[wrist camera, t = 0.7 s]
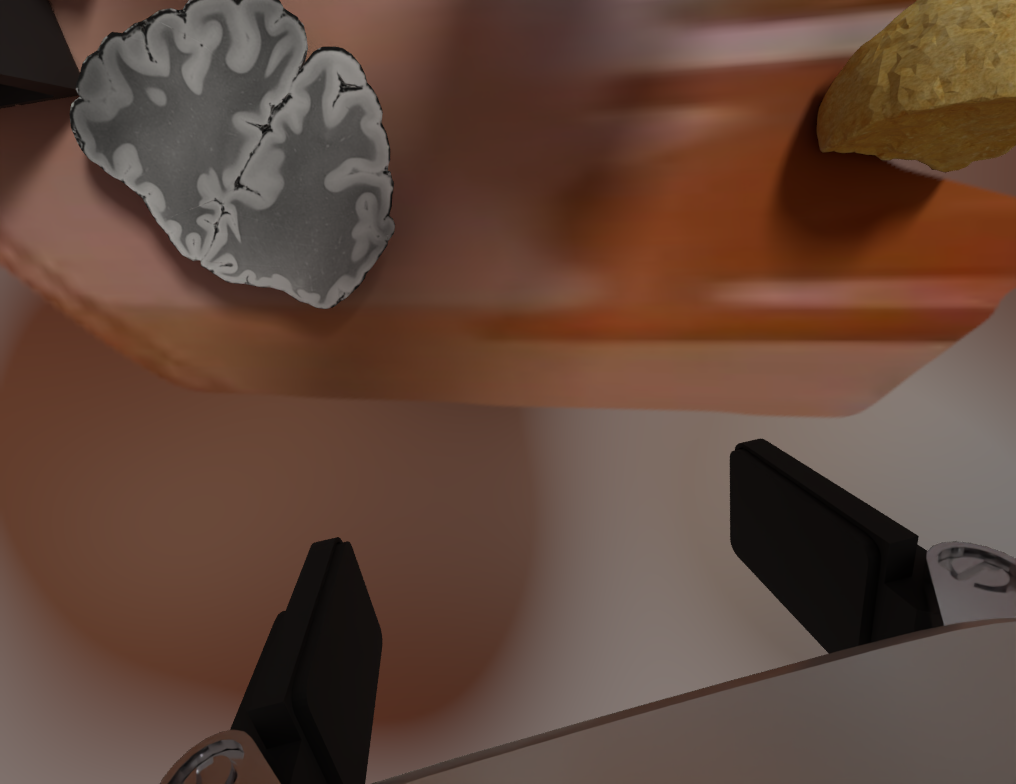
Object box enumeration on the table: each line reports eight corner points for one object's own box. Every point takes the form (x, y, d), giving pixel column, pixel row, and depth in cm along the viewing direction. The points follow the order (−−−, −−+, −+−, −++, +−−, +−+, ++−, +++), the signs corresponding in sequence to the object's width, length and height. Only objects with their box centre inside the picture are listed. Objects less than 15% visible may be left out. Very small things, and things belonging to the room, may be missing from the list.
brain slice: (452, 144, 34) (454, 137, 32) (335, 333, 38) (327, 341, 35) (183, -71, 29) (156, -104, 26) (70, 174, 32) (35, 168, 29)
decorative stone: (933, -117, 31) (1021, -49, 23) (1113, -28, 33) (1254, 66, 25) (788, 84, 42) (813, 178, 34) (928, 144, 44) (985, 248, 36)
